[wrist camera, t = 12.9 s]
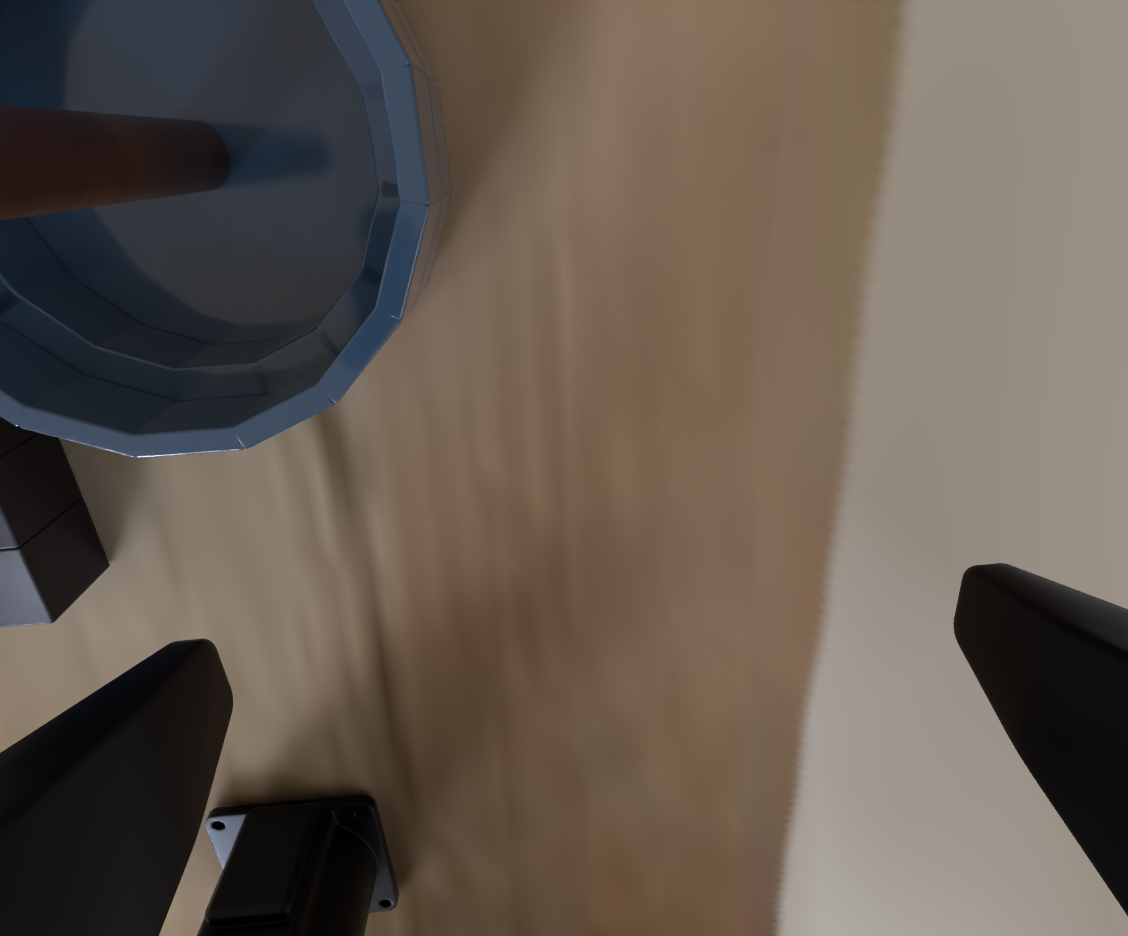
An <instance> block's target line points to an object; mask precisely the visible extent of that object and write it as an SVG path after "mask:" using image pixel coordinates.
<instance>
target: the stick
mask: <svg viewBox="0 0 1128 936" xmlns="http://www.w3.org/2000/svg"><path fill="white" fill-rule="evenodd" d="M229 166H230V161H229V154H228V151H227V148H226V146H225V144H224V142H223V141H222V139H221V138H220V136H219V135H218V134H217V133H216V132H215V131H214V130H213V129H211V128H210V127H209V126H207V125H205V124H203V123H201V122H198V121H193V120H183V119H170V118H158V117H145V116H132V115H120V114H107V113H95V112H82V111H70V110H57V109H45V108H32V107H20V106H7V105H0V220H5V219H12V218H20V217H27V216H34V215H41V214H48V213H55V212H62V211H69V210H77V209H84V208H91V207H98V206H105V205H112V204H119V203H127V202H134V201H141V200H148V199H155V198H162V197H169V196H176V195H184V194H191V193H198V192H205V191H210V190H213V189H216V188H217V187H219V186H220V185H221V184H222V183H223V182H224V181H225V179H226V177H227V175H228V172H229Z"/></svg>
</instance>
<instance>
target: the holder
mask: <svg viewBox="0 0 1128 936" xmlns="http://www.w3.org/2000/svg"><path fill="white" fill-rule="evenodd" d="M81 497H82V495H81V493H80V490H79V488H78V485H77V483H76V480H75V478H74V475H73V473H72V470H71V468H70V465H69V463H68V460H67V458H66V455H65V453H64V450H63V448H62V445H61V443H60V440H59V438H57V437H53V436H49V435H45V434H42V433H38V432H34V431H30V430H26V429H22V428H21V427H20V426H15V425H13V424H12V423H10V422H8V421H7V420H5V419H4V418H2V417H0V627H10V626H22V625H34V624H47V623H53V622H55V621H56V620H57V619H58V618H59V617H60V616H61V615H62V614H63V613H64V612H65V611H66V610H67V609H68V608H69V607H70V606H71V605H72V603H73V602H74V601H75V600H76V599H77V598H78V597H79V596H80V595H81V594H82V593H83V592H84V591H85V590H86V589H87V588H88V587H89V586H90V585H91V584H92V583H93V582H94V581H95V580H96V579H97V578H98V577H99V576H100V575H101V574H102V573H103V572H104V571H105V570H106V569H107V568H108V567H109V562H108V560H107V557H106V555H105V552H104V550H103V547H102V545H101V542H100V540H99V537H98V535H97V532H96V530H95V527H94V525H93V522H92V520H91V517H90V515H89V512H88V510H87V507H86V505H85V502H84V500H83V498H81Z"/></svg>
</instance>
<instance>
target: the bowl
mask: <svg viewBox="0 0 1128 936" xmlns="http://www.w3.org/2000/svg"><path fill="white" fill-rule="evenodd" d="M0 105H7V106H20V107H32V108H45V109H57V110H70V111H82V112H95V113H107V114H120V115H132V116H145V117H158V118H170V119H183V120H193V121H198V122H201V123H203V124H205V125H207V126H209V127H210V128H211V129H213V130H214V131H215V132H216V133H217V134H218V135H219V136H220V138H221V139H222V141H223V142H224V144H225V146H226V148H227V151H228V154H229V161H230V166H229V172H228V175H227V177H226V179H225V181H224V182H223V183H222V184H221V185H220V186H219V187H217V188H216V189H213V190H210V191H205V192H198V193H191V194H184V195H176V196H169V197H162V198H155V199H148V200H141V201H134V202H127V203H119V204H112V205H105V206H98V207H91V208H84V209H77V210H69V211H62V212H55V213H48V214H41V215H34V216H27V217H20V218H12V219H5V220H0V417H2V418H4V419H5V420H7V421H8V422H10V423H12V424H13V425H15V426H20V427H21V428H22V429H26V430H30V431H34V432H38V433H42V434H45V435H49V436H53V437H57V438H61V439H64V440H68V441H72V442H76V443H80V444H83V445H87V446H91V447H95V448H99V449H102V450H106V451H110V452H114V453H118V454H122V455H125V456H129V457H137V458H145V457H158V456H172V455H185V454H198V453H211V452H224V451H238V450H243V449H248V448H250V447H252V446H254V445H256V444H258V443H260V442H262V441H264V440H266V439H268V438H270V437H272V436H274V435H276V434H278V433H280V432H282V431H284V430H286V429H288V428H290V427H292V426H294V425H296V424H298V423H300V422H302V421H304V420H306V419H308V418H310V417H312V416H314V415H316V414H317V413H319V412H321V411H323V410H325V409H327V408H329V407H331V406H333V405H334V404H335V403H336V402H338V401H339V400H340V399H341V398H342V396H343V395H344V394H345V393H346V391H347V390H348V389H349V387H350V386H351V385H352V384H353V382H354V381H355V380H356V379H357V377H358V376H359V375H360V374H361V372H362V371H363V370H364V369H365V367H366V366H367V365H368V363H369V362H370V361H371V360H372V358H373V357H374V356H375V355H376V353H377V352H378V351H379V350H380V348H381V347H382V346H383V344H384V343H385V342H386V341H387V339H388V338H389V337H390V336H391V334H392V333H393V332H394V331H395V329H396V328H397V327H398V325H399V324H400V323H401V321H402V320H403V319H404V317H405V316H406V314H407V313H408V311H409V310H410V309H411V307H412V306H413V304H414V303H415V302H416V300H417V299H418V297H419V296H420V294H421V293H422V292H423V290H424V289H425V287H426V286H427V283H428V282H429V278H430V274H431V270H432V266H433V263H434V259H435V255H436V251H437V247H438V243H439V239H440V236H441V232H442V228H443V224H444V220H445V216H446V212H447V209H448V205H449V201H450V197H451V192H450V191H451V182H450V173H449V165H448V157H447V149H446V140H445V132H444V124H443V115H442V107H441V99H440V90H439V86H438V85H437V79H436V77H435V75H434V73H433V71H432V69H431V67H430V65H429V63H428V61H427V59H426V57H425V55H424V53H423V51H422V49H421V47H420V45H419V43H418V41H417V39H416V37H415V35H414V33H413V31H412V29H411V27H410V25H409V23H408V21H407V19H406V17H405V14H404V12H403V10H402V8H401V6H400V4H399V2H398V0H0Z"/></svg>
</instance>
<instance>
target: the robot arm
mask: <svg viewBox="0 0 1128 936" xmlns="http://www.w3.org/2000/svg"><path fill="white" fill-rule="evenodd" d="M954 633H955V637H956V640H957V642H958V644H959V646H960V648H961V650H962V652H963V653H964V655H965V657H966V659H967V661H968V663H969V665H970V666H971V668H972V670H973V672H974V674H975V676H976V677H977V679H978V681H979V683H980V685H981V687H982V689H983V690H984V692H985V694H986V696H987V697H988V699H989V701H990V703H991V705H992V707H993V709H994V711H995V712H996V714H997V716H998V718H999V720H1000V722H1001V724H1002V725H1003V727H1004V729H1005V731H1006V733H1007V735H1008V736H1009V738H1010V740H1011V742H1012V743H1013V745H1014V746H1015V748H1016V750H1017V752H1018V754H1019V755H1020V757H1021V758H1022V760H1023V761H1024V763H1025V765H1026V766H1027V768H1028V769H1029V771H1030V772H1031V774H1032V775H1033V777H1034V778H1035V780H1036V781H1037V783H1038V784H1039V786H1040V787H1041V789H1042V790H1043V792H1044V793H1045V795H1046V796H1047V798H1048V799H1049V801H1050V802H1051V803H1052V805H1053V806H1054V808H1055V809H1056V811H1057V812H1058V814H1059V815H1060V817H1061V818H1062V820H1063V821H1064V823H1065V824H1066V826H1067V827H1068V829H1069V830H1070V832H1071V833H1072V835H1073V836H1074V837H1075V839H1076V840H1077V842H1078V843H1079V845H1080V846H1081V848H1082V849H1083V851H1084V852H1085V854H1086V855H1087V857H1088V858H1089V860H1090V861H1091V863H1092V864H1093V865H1094V867H1095V868H1096V870H1097V871H1098V873H1099V874H1100V876H1101V877H1102V879H1103V880H1104V882H1105V883H1106V884H1107V886H1108V888H1109V889H1110V891H1111V892H1112V894H1113V895H1114V896H1115V898H1116V899H1117V901H1118V902H1119V904H1120V905H1121V907H1122V908H1123V910H1124V911H1125V913H1126V914H1127V916H1128V609H1125V608H1123V607H1120V606H1117V605H1115V604H1112V603H1109V602H1107V601H1104V600H1102V599H1099V598H1096V597H1093V596H1091V595H1088V594H1086V593H1083V592H1080V591H1078V590H1075V589H1072V588H1070V587H1067V586H1064V585H1062V584H1059V583H1056V582H1054V581H1051V580H1048V579H1046V578H1043V577H1041V576H1038V575H1035V574H1032V573H1030V572H1027V571H1025V570H1022V569H1019V568H1017V567H1014V566H1011V565H1008V564H1003V563H997V564H987V565H976V566H972V567H970V568H968V569H967V570H966V571H965V573H964V575H963V578H962V582H961V587H960V592H959V598H958V602H957V607H956V612H955V617H954ZM232 709H233V695H232V690H231V687H230V684H229V682H228V679H227V676H226V673H225V671H224V668H223V665H222V662H221V660H220V657H219V654H218V652H217V649H216V647H215V645H214V644H213V643H212V642H211V641H210V640H207V639H195V640H184V641H175V642H172V643H170V644H168V645H166V646H165V647H163V648H162V649H160V650H159V651H157V652H156V653H154V654H153V655H151V656H149V657H148V658H146V659H145V660H143V661H142V662H140V663H139V664H137V665H136V666H134V667H133V668H131V669H129V670H128V671H126V672H125V673H123V674H122V675H120V676H119V677H117V678H116V679H114V680H112V681H111V682H109V683H108V684H106V685H105V686H103V687H102V688H100V689H99V690H97V691H95V692H94V693H92V694H91V695H89V696H88V697H86V698H85V699H83V700H82V701H80V702H78V703H77V704H75V705H74V706H72V707H71V708H69V709H68V710H66V711H65V712H63V713H61V714H60V715H58V716H57V717H55V718H54V719H52V720H51V721H49V722H48V723H46V724H44V725H43V726H41V727H40V728H38V729H37V730H35V731H34V732H32V733H31V734H29V735H27V736H26V737H24V738H23V739H21V740H20V741H18V742H17V743H15V744H14V745H12V746H11V747H9V748H7V749H6V750H4V751H3V752H1V753H0V936H159V934H160V931H161V928H162V926H163V923H164V921H165V918H166V916H167V913H168V911H169V908H170V905H171V903H172V900H173V898H174V895H175V893H176V890H177V888H178V885H179V883H180V880H181V877H182V875H183V872H184V870H185V867H186V865H187V862H188V860H189V857H190V854H191V851H192V849H193V846H194V843H195V840H196V838H197V835H198V831H199V828H200V825H201V822H202V819H203V815H204V812H205V808H206V804H207V801H208V797H209V794H210V790H211V786H212V783H213V779H214V776H215V772H216V768H217V765H218V761H219V757H220V754H221V750H222V747H223V743H224V739H225V736H226V732H227V729H228V725H229V721H230V718H231V714H232ZM205 828H206V830H207V832H208V835H209V837H210V840H211V842H212V845H213V847H214V850H215V852H216V854H217V857H218V859H219V862H220V864H221V867H222V869H223V871H222V873H221V876H220V878H219V880H218V883H217V885H216V888H215V890H214V892H213V895H212V897H211V900H210V902H209V904H208V907H207V909H206V912H205V917H204V920H203V922H202V925H201V927H200V929H199V932H198V934H197V936H364V934H365V929H366V924H367V919H368V914H369V913H370V912H381V911H389V910H392V909H394V908H395V907H396V906H397V902H398V896H399V892H398V888H397V884H396V880H395V876H394V872H393V868H392V864H391V860H390V856H389V852H388V848H387V844H386V840H385V836H384V832H383V828H382V824H381V820H380V816H379V813H378V809H377V805H376V802H375V800H374V799H373V798H371V797H369V796H365V795H358V796H347V797H336V798H324V799H313V800H301V801H290V802H278V803H267V804H255V805H244V806H232V807H221V808H215V809H213V810H212V811H210V813H209V815H208V817H207V820H206V822H205Z"/></svg>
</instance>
